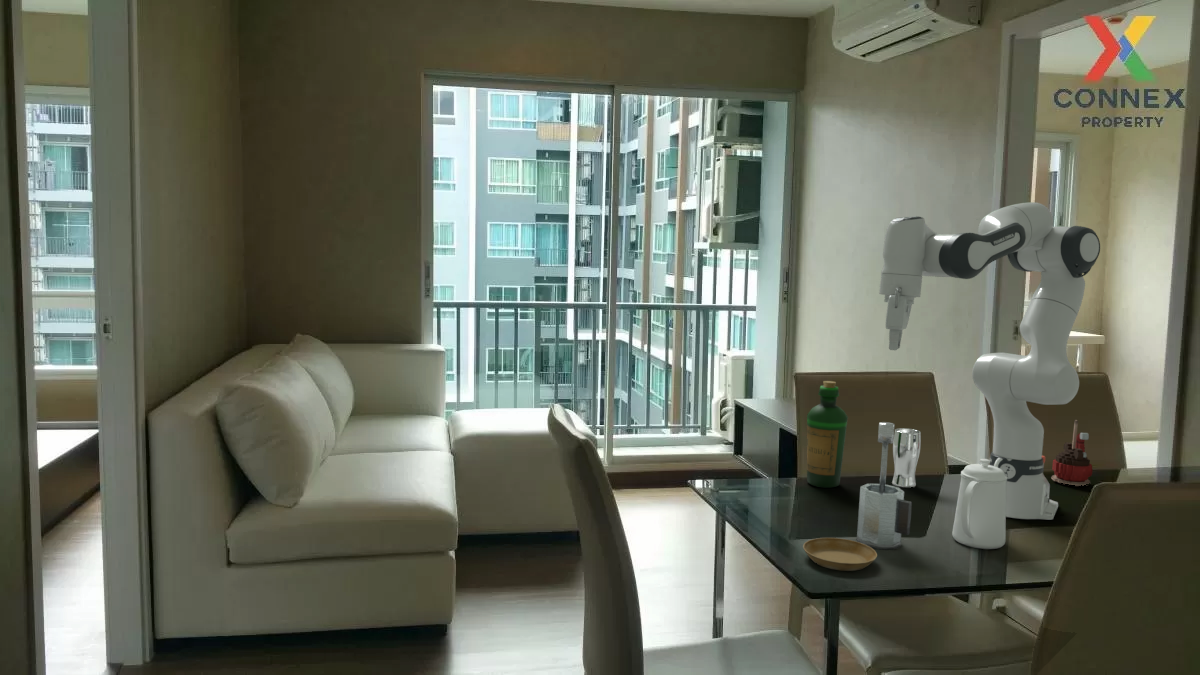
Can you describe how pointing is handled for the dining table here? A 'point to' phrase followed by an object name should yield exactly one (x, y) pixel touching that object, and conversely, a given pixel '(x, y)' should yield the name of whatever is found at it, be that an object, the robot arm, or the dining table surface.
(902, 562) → the dining table surface
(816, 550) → the plant saucer
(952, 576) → the dining table surface
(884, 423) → the dumbbell
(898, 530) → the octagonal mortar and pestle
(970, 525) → the coffeepot
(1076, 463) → the cake
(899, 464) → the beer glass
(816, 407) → the bottle
